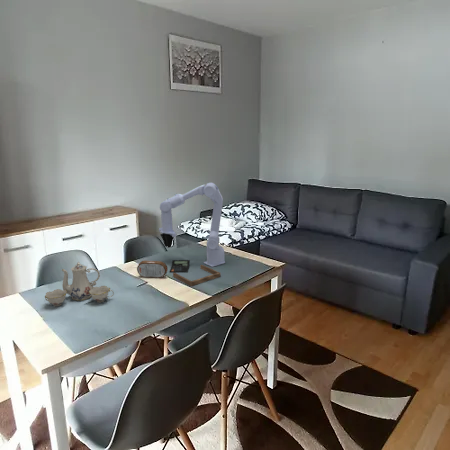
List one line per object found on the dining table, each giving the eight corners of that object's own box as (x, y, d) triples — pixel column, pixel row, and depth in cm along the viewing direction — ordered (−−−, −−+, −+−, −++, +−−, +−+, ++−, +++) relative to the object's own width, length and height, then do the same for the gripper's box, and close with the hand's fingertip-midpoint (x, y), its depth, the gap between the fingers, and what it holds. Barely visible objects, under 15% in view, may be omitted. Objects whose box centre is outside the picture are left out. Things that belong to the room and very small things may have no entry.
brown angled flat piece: (202, 268, 196) (201, 264, 195) (220, 276, 184) (220, 272, 184) (173, 276, 185) (173, 273, 184) (191, 286, 173) (190, 282, 173)
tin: (168, 276, 185) (167, 260, 183) (166, 278, 182) (165, 262, 180) (138, 275, 187) (137, 259, 184) (136, 277, 184) (135, 262, 181)
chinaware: (43, 315, 150) (36, 279, 144) (49, 294, 165) (43, 261, 159) (114, 306, 158) (111, 271, 152) (114, 287, 173) (111, 254, 167)
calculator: (169, 273, 190) (169, 267, 189) (172, 265, 201) (172, 259, 201) (187, 273, 190) (187, 267, 189) (189, 265, 201) (189, 259, 201)
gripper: (153, 221, 201) (154, 245, 204) (167, 226, 190) (168, 251, 194) (164, 219, 205) (165, 242, 209) (179, 224, 195) (180, 248, 198)
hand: (168, 246), depth 201 cm, fingers closed
